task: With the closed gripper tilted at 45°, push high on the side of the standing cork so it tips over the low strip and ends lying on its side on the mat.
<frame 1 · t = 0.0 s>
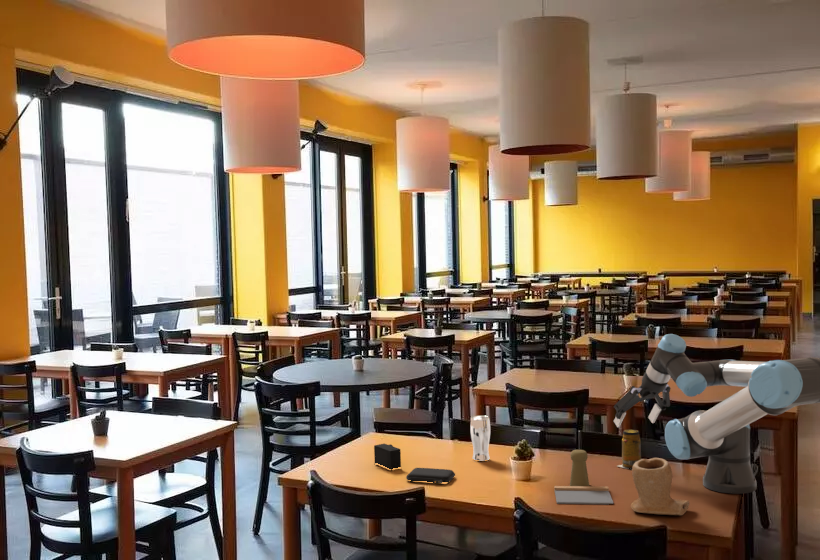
hand: (633, 422, 262), 15 cm above the table, tool tilted 35°, fingers open, 13 cm apart
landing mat: (579, 485, 246), on the table
beer glass: (481, 460, 278), on the table
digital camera: (389, 467, 273), on the table
carrying case or bag: (430, 481, 256), on the table
condiment: (633, 467, 264), on the table
cork: (579, 486, 246), on the table
stone cup: (659, 514, 218), on the table
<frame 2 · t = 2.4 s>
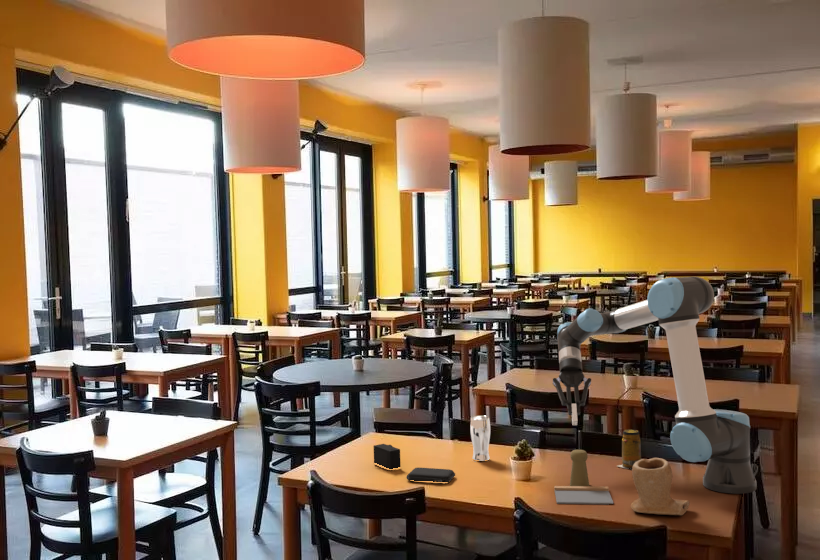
hand: (574, 422, 254), 17 cm above the table, tool tilted 45°, fingers closed
nothing on the table moved.
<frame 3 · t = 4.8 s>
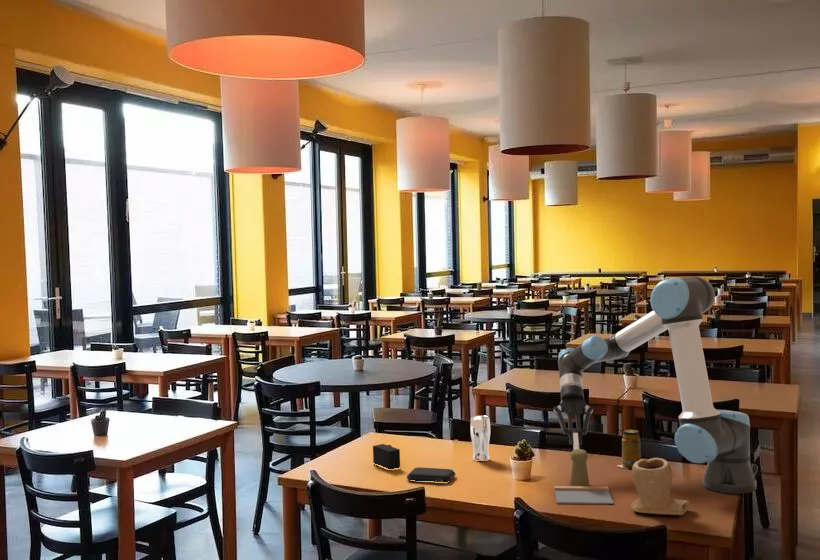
hand: (576, 453, 248), 10 cm above the table, tool tilted 45°, fingers closed
cork: (579, 484, 246), on the table, touching gripper
everything else where it was.
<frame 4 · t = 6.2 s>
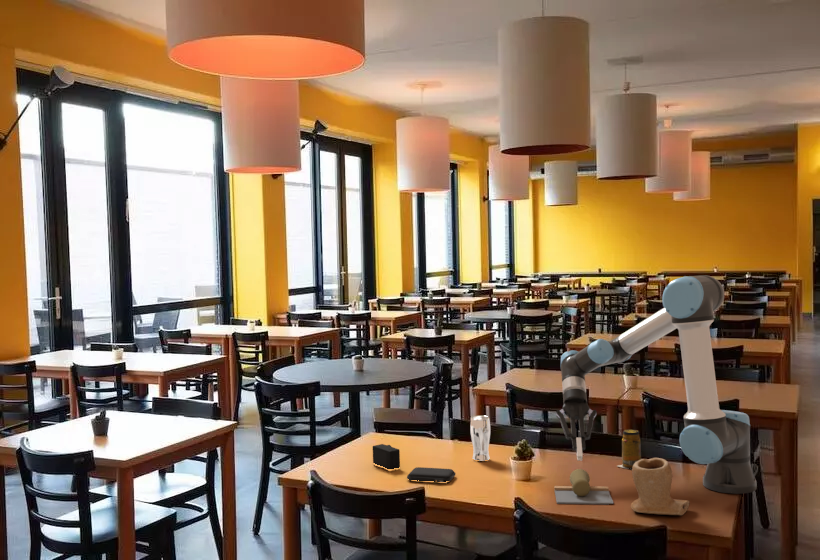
hand: (580, 458, 241), 10 cm above the table, tool tilted 45°, fingers closed
cork: (579, 478, 243), point 3 cm above the table, touching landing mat
everything else where it was.
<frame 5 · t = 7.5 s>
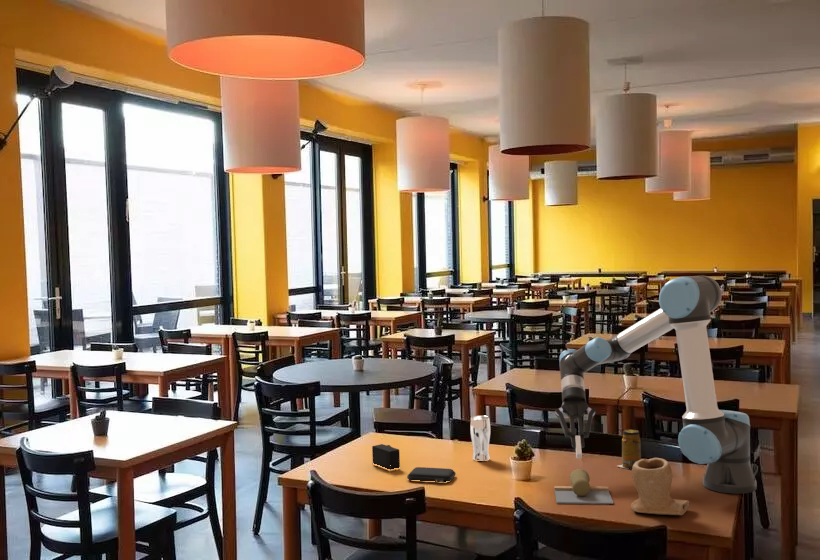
hand: (579, 456, 243), 10 cm above the table, tool tilted 45°, fingers closed
nothing on the table moved.
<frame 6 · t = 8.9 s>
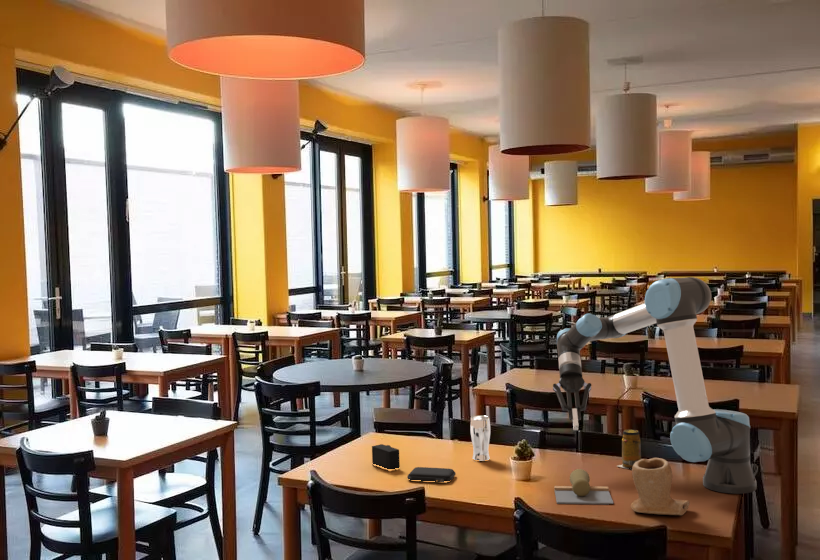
hand: (576, 427, 254), 16 cm above the table, tool tilted 45°, fingers closed
nothing on the table moved.
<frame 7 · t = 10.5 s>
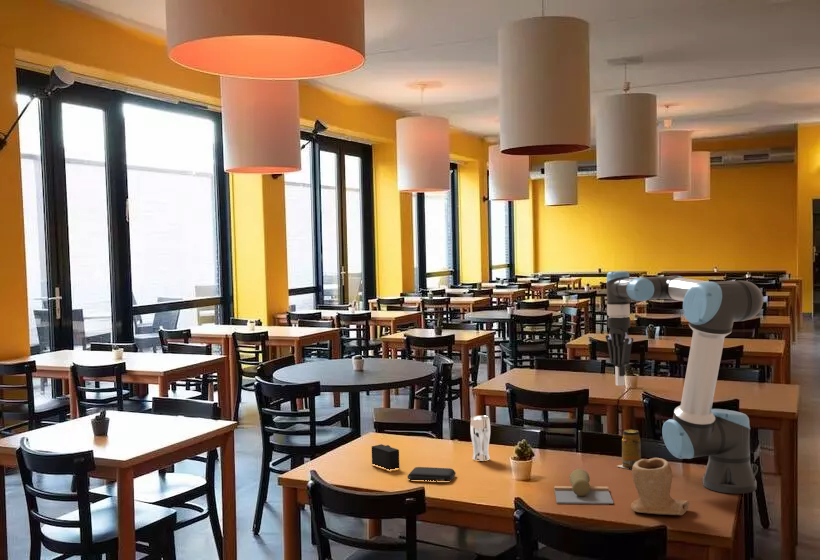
hand: (620, 385, 271), 26 cm above the table, tool pointing down, fingers closed
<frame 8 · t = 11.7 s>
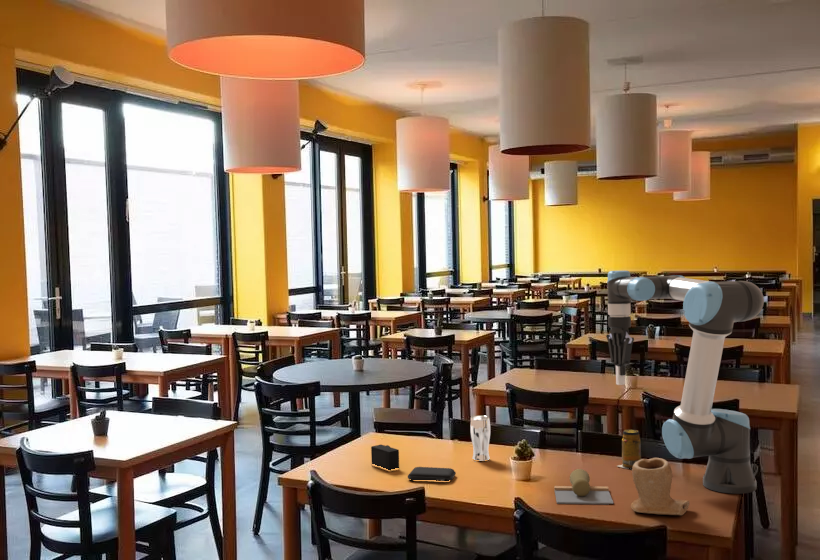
hand: (620, 384, 271), 26 cm above the table, tool pointing down, fingers closed
at the end: cork tilted 89°; cork touching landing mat; cork 2.7 cm from the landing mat (horizontally) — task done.
